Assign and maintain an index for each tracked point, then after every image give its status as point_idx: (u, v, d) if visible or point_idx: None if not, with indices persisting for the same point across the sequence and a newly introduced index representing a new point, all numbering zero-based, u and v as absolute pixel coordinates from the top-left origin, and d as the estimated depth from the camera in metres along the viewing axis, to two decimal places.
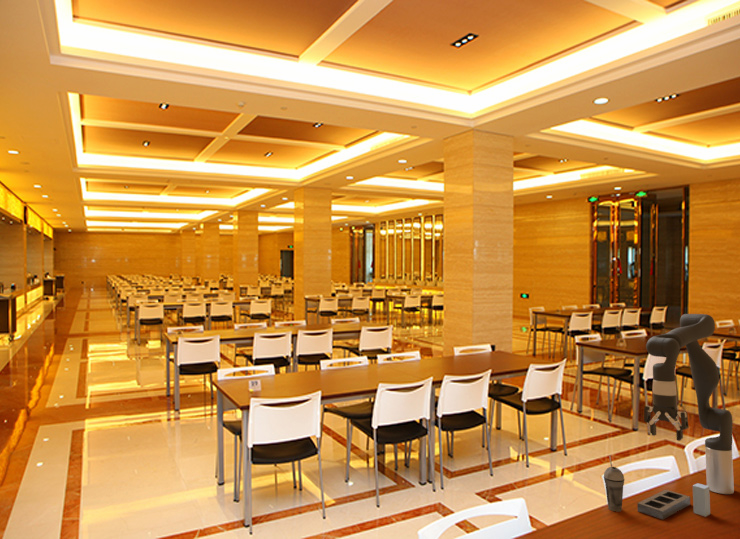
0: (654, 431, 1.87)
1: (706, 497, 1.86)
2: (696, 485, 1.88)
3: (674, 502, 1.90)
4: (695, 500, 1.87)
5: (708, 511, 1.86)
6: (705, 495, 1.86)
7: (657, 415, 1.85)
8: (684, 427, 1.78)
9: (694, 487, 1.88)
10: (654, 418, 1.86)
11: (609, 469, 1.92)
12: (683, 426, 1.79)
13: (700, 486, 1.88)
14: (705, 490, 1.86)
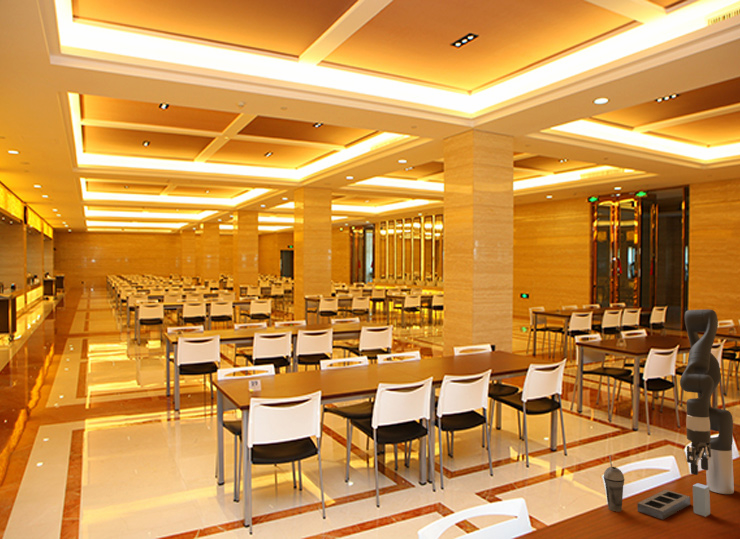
0: None
1: (706, 497, 1.86)
2: (696, 485, 1.89)
3: (674, 502, 1.90)
4: (695, 500, 1.87)
5: (708, 511, 1.86)
6: (705, 495, 1.86)
7: (701, 452, 1.86)
8: (710, 455, 1.91)
9: (694, 487, 1.88)
10: (700, 456, 1.85)
11: (609, 469, 1.92)
12: (710, 454, 1.91)
13: (700, 486, 1.88)
14: (705, 490, 1.86)
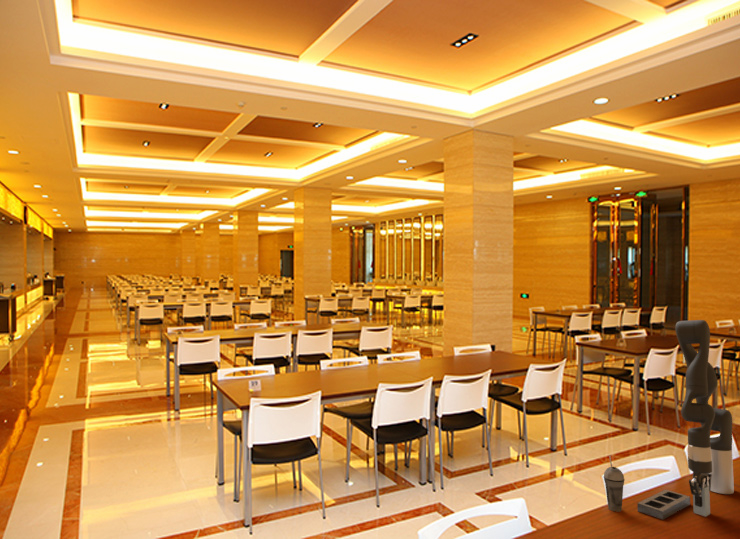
0: None
1: (706, 497, 1.86)
2: None
3: (674, 502, 1.90)
4: None
5: (708, 511, 1.86)
6: (705, 495, 1.86)
7: (704, 483, 1.86)
8: (710, 488, 1.90)
9: None
10: (703, 487, 1.85)
11: (609, 469, 1.92)
12: (709, 487, 1.90)
13: None
14: (705, 490, 1.86)
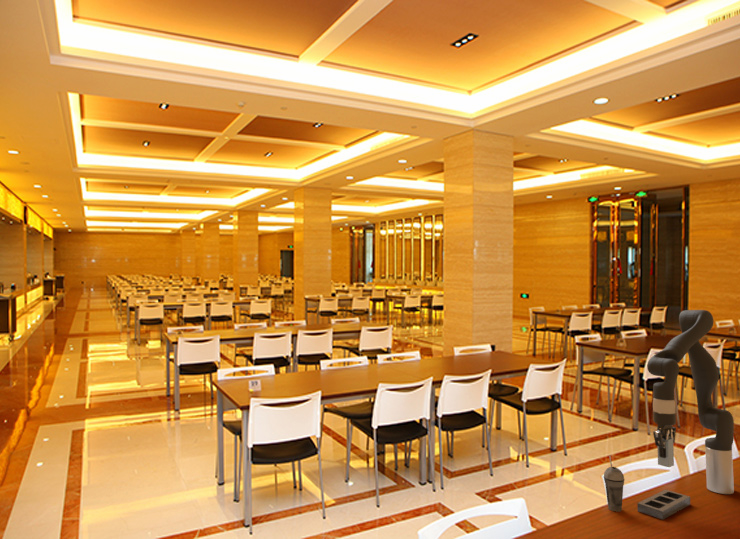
0: None
1: (670, 448, 1.91)
2: None
3: (674, 502, 1.90)
4: None
5: (672, 463, 1.91)
6: (669, 446, 1.91)
7: (668, 434, 1.91)
8: (674, 440, 1.95)
9: None
10: (667, 439, 1.91)
11: (609, 469, 1.92)
12: (673, 440, 1.95)
13: (664, 438, 1.93)
14: (669, 442, 1.91)
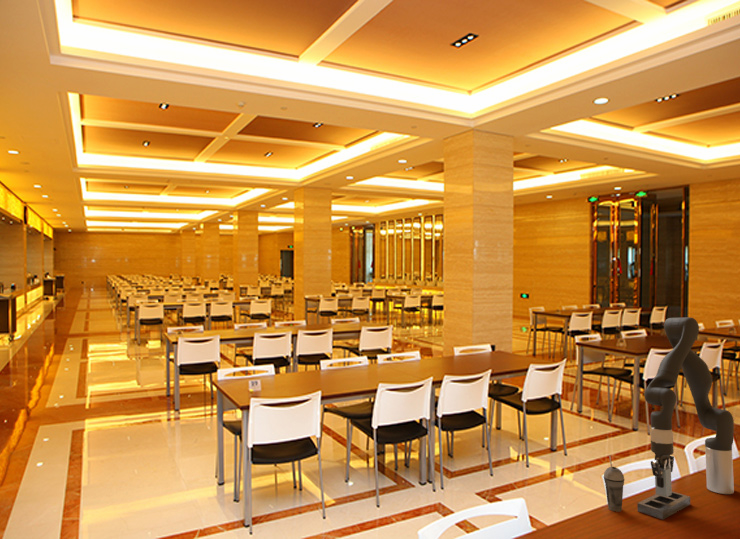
0: None
1: (667, 478, 1.91)
2: None
3: (674, 502, 1.90)
4: None
5: (670, 492, 1.92)
6: (666, 476, 1.91)
7: (665, 464, 1.91)
8: (672, 470, 1.95)
9: None
10: (664, 469, 1.91)
11: (609, 469, 1.92)
12: (671, 469, 1.95)
13: None
14: (667, 471, 1.91)
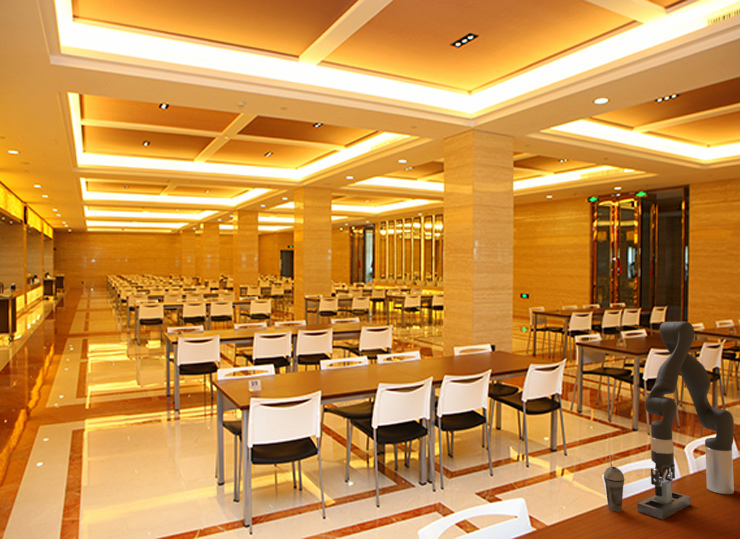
0: None
1: (668, 492, 1.91)
2: (659, 480, 1.94)
3: (674, 502, 1.90)
4: None
5: None
6: (667, 490, 1.91)
7: (665, 474, 1.91)
8: (674, 476, 1.96)
9: None
10: (664, 478, 1.90)
11: (609, 469, 1.92)
12: (674, 476, 1.96)
13: (663, 481, 1.93)
14: (667, 485, 1.91)
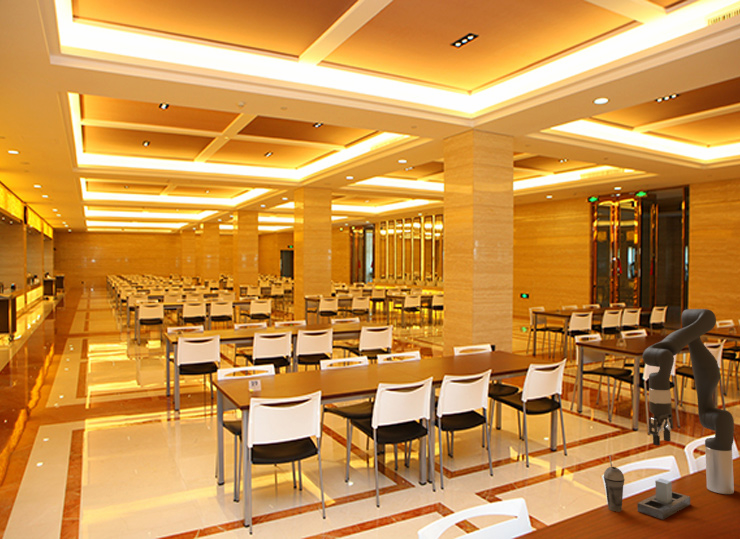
0: None
1: (668, 492, 1.91)
2: (659, 480, 1.94)
3: (674, 502, 1.90)
4: (658, 495, 1.93)
5: None
6: (667, 490, 1.91)
7: (663, 424, 1.93)
8: (672, 426, 1.98)
9: (657, 482, 1.93)
10: (661, 428, 1.92)
11: (609, 469, 1.92)
12: (672, 426, 1.98)
13: (663, 481, 1.93)
14: (667, 485, 1.91)
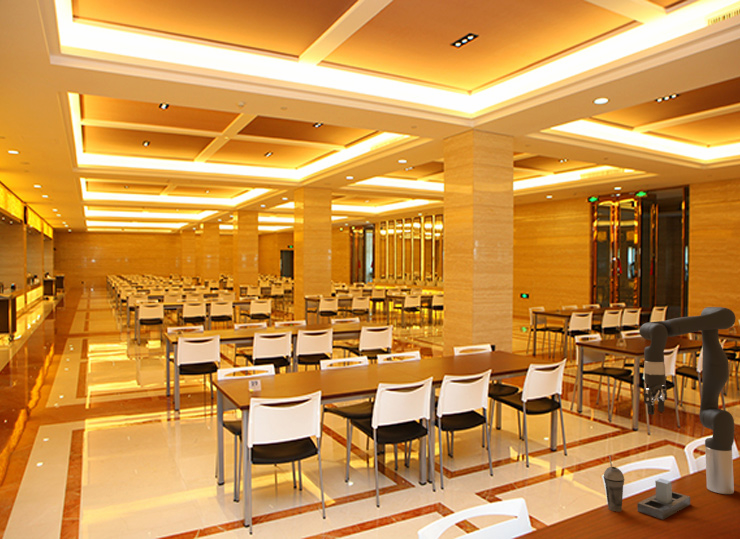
0: None
1: (668, 492, 1.91)
2: (659, 480, 1.94)
3: (674, 502, 1.90)
4: (658, 495, 1.93)
5: None
6: (667, 490, 1.91)
7: (657, 394, 2.03)
8: (666, 398, 2.08)
9: (657, 482, 1.93)
10: (656, 398, 2.02)
11: (609, 469, 1.92)
12: (666, 397, 2.08)
13: (663, 481, 1.93)
14: (667, 485, 1.91)
